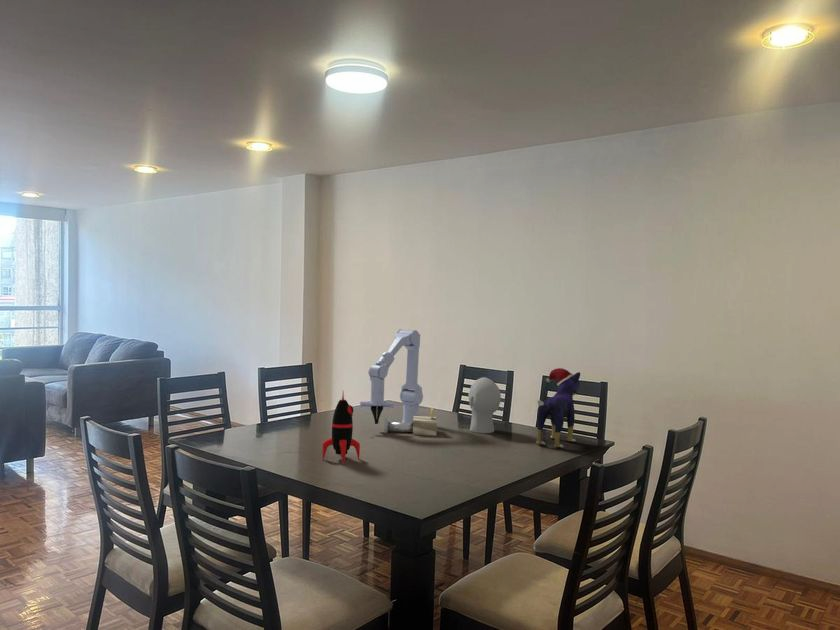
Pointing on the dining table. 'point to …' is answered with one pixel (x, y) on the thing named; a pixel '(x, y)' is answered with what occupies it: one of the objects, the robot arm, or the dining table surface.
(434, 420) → the block
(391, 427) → the silver metal piece
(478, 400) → the head
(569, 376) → the toy
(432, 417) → the keeper flap
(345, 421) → the toy rocket
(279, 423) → the dining table surface
